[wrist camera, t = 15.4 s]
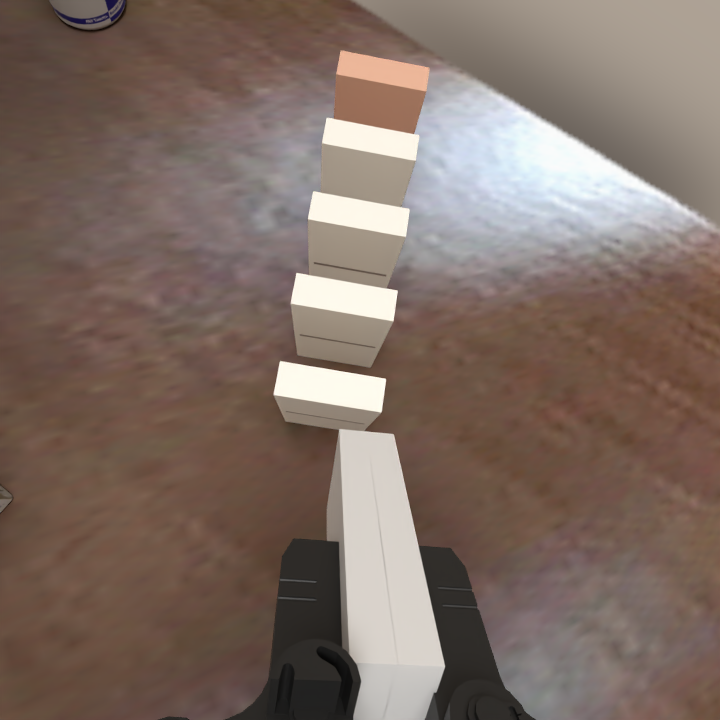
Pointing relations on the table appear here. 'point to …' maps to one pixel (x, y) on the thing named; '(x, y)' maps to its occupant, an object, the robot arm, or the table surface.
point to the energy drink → (88, 12)
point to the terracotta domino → (379, 92)
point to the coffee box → (4, 498)
